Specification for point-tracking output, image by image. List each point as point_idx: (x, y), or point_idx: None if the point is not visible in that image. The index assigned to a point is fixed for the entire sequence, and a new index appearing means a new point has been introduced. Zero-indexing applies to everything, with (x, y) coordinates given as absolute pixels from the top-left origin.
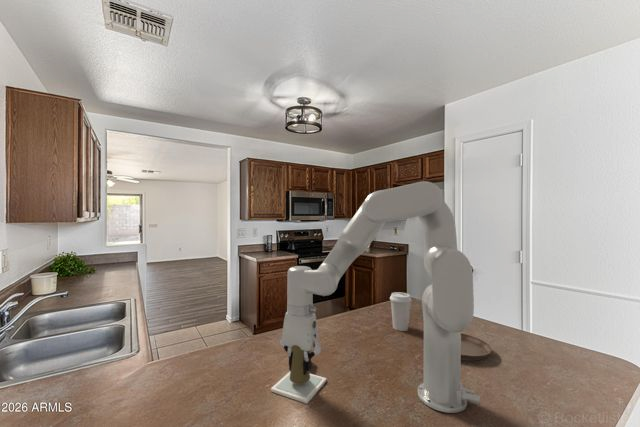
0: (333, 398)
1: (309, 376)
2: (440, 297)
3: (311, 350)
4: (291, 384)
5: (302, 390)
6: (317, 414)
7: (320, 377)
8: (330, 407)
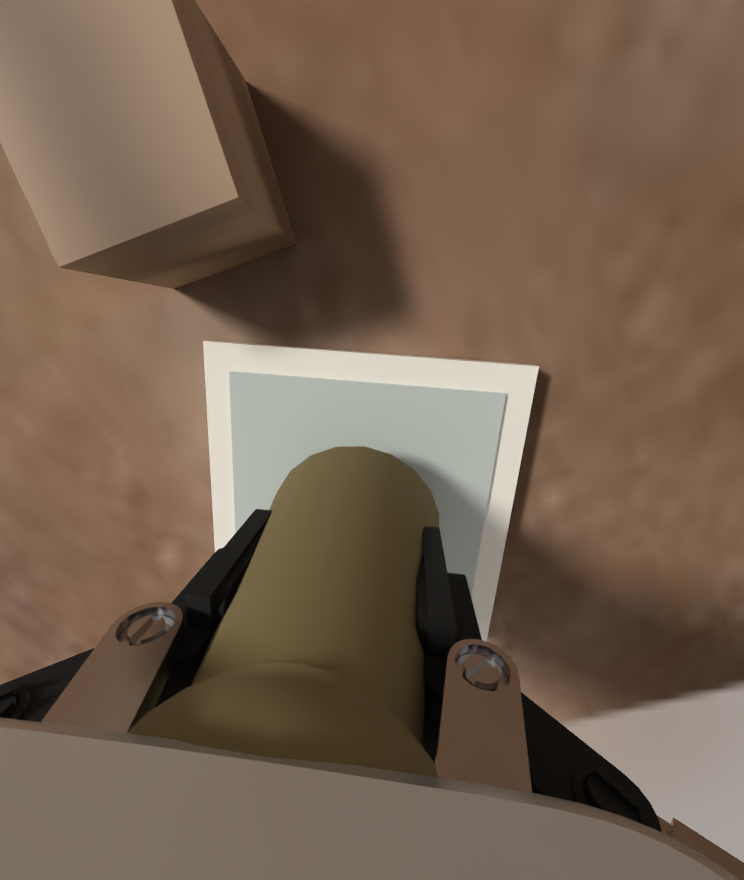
0: (633, 539)
1: (438, 525)
2: None
3: (526, 788)
4: None
5: None
6: (567, 682)
7: (484, 375)
8: (630, 617)
